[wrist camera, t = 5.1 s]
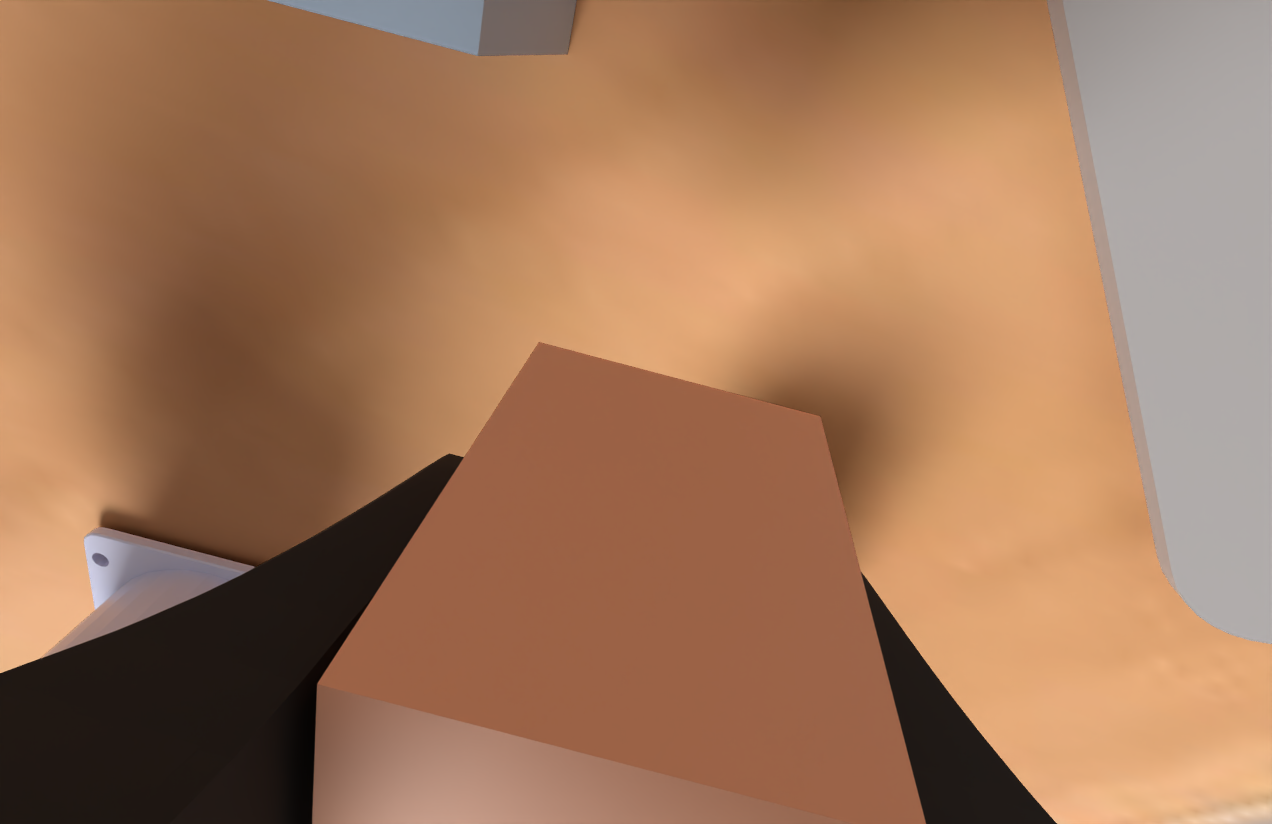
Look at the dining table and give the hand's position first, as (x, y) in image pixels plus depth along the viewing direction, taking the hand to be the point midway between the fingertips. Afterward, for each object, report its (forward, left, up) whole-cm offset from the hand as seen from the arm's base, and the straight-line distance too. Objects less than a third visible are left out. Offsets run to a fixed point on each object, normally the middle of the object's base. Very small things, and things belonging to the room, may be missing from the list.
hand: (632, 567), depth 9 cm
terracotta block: (0, 0, -2) cm, 2 cm away
